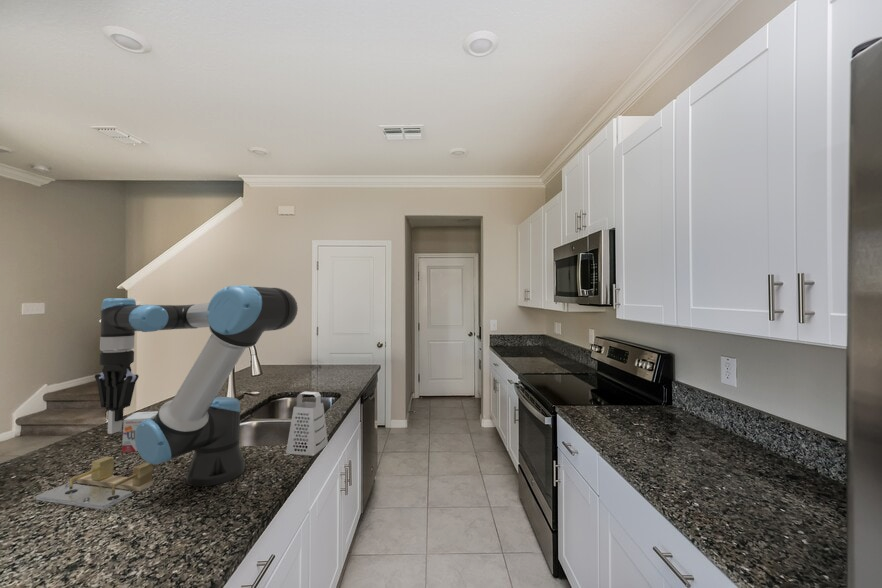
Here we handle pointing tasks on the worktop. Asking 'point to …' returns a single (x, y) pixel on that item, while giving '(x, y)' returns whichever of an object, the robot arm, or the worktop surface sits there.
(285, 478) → the worktop surface
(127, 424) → the ink box
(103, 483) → the rail
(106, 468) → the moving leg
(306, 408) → the grater
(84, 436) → the worktop surface
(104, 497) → the bolt plate
